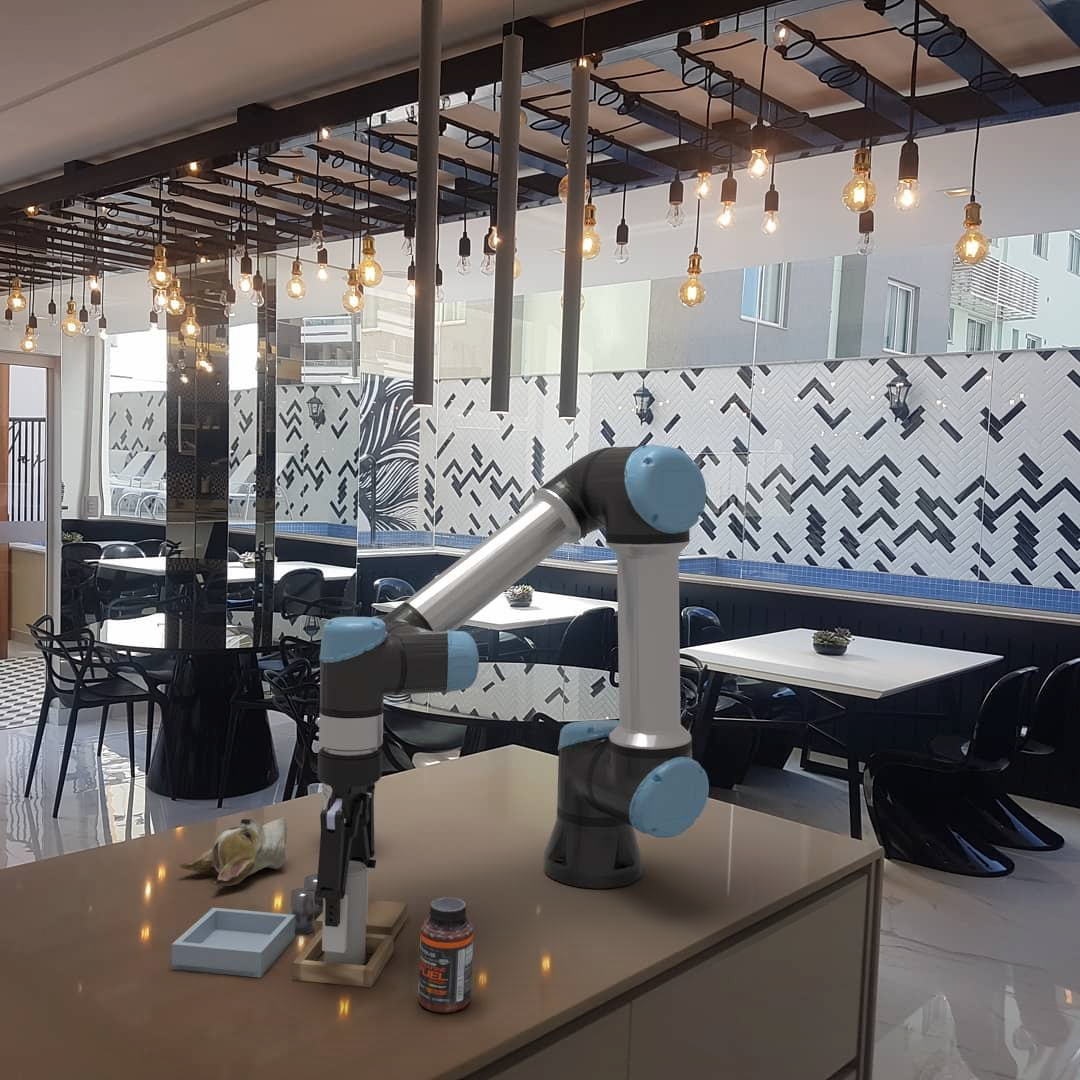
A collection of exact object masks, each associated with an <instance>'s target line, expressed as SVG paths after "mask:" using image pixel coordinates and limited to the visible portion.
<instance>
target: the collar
mask: <svg viewBox="0 0 1080 1080" xmlns="http://www.w3.org/2000/svg"><path fill="white" fill-rule="evenodd" d="M394 947H395V938H394V936H389V935H378V934H367V933H366V939H365V954H372V956H371V957H370V959H369V961H368V963H367V964H366V965H364V964H363V965H353V964H342V963H332V962H325V961H319V960H318V959H319V958H320V956H321V954H322V953H323V952H324V951H322V929H320V930H319V931H318V933H317V934H316V935H315V934H314V937H312V939H311V940H310V941H309V942H308V944H307V945H306V946H305V947H304V948H303V950H301V952H300V953H299V954H298V956H297V957H296V958H295V960H294V961H292V969H291V970H292V975H291V978H292V979H291V980H292V981H302V982H312V983H324V984H330V985H331V984H332V985H341V986H342V985H343V986H353V987H364V988H372V987H373V986H374V984H375V983H376V981H377V979H378V978H379V976H380V975H381V973H382V971H383V970H384V968H385V967H386V965H387V963H388V961H389V960H390V958H391V956H392V955H393V953H394V952H395V948H394Z"/></svg>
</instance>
